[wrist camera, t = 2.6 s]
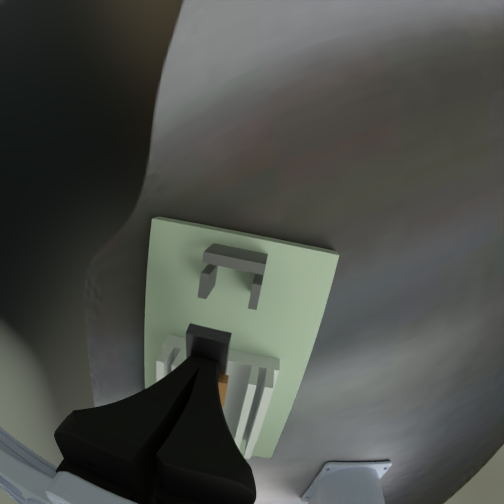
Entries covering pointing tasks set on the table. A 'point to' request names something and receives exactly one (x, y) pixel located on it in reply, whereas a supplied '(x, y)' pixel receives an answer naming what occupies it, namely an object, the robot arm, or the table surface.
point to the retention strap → (210, 350)
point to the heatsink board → (237, 316)
